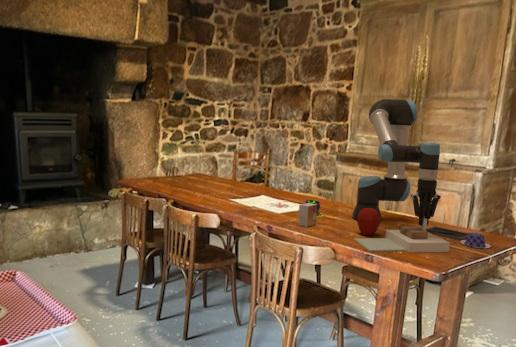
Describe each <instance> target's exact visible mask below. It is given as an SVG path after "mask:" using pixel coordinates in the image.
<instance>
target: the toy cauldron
mask: <svg viewBox="0 0 516 347" xmlns="http://www.w3.org/2000/svg"><path fill="white" fill-rule="evenodd" d="M315 197H316V196H315ZM316 198H317V199H318V200H317V199H312V198H311V199H307V197H305V199H307V200H303V201H302V203H303V204H306V203H312V204H317V215H316V219H319V217H321V218H323V217H322V215H321V214H320V213H321V212H320V209H321V205H322V204H323V202H322V201H319V200H320V199H321V198H319V197H316ZM319 212H320V213H319ZM319 215H320V216H319Z"/></svg>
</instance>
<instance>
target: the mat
mask: <svg viewBox="0 0 516 347" xmlns="http://www.w3.org/2000/svg"><path fill="white" fill-rule="evenodd" d="M353 241H354V242H356V243H358V244H359V245H360V246H362V247H363V248H364V249H365V250H367V251H368V252H407V251H406V249H404V248H403V247H401V246H400V245H398V244H396V243H395V242H393V241H391V240H390V239H388V238H386V237H385V238H384V237H383V238H382V237H381V238H379V237H378V238H377V237H376V238H373V237H372V238H370V237H367V238H366V237H365V238H354V239H353Z"/></svg>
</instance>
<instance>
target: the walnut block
mask: <svg viewBox="0 0 516 347" xmlns="http://www.w3.org/2000/svg"><path fill="white" fill-rule="evenodd" d="M399 227H400V229H399V230H400V233H401V234H403V235H405V236H407V237H409V238H411V239H428V232H426V231H424V230H422V229H420V227H417V225H416V226H415V225H404V226H403V225H401V226H399Z"/></svg>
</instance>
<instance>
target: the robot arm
mask: <svg viewBox="0 0 516 347" xmlns="http://www.w3.org/2000/svg"><path fill="white" fill-rule="evenodd" d="M368 118H369V122H370V123H371V124H372V125H373V128H374V131H375V133H376V136H377V139H378V142H379V147H378V149H377V155H378V156H377V157H378V159H379V161H380V162H387V163H388V164H387V172H386V173H385V174H384V175H383V178H382V177H381V176H379V175H376V176H375V175H368V176H362V177H359V179H358V181H357V192H356V205H355V207H354V209H353V212H352V216H351V217H352V219H353V220H355V221H358V214H359V212H360V211H361V210H362V209H364V208H369V206H370V208H373V209H375V210H376V211H377V212H378V214H379V217H380V222H382V221H381V220H382V215H381V210H380V206H379V204H380V202H396V203H397V202H405V201H406V200H407V199H408V197H409V196H410V198H411V199H412V204H413V210H414V216H416V217H418V223H417V224H418V226H419V228H420V229H422V230H424V231H426V229H427V226H429V219H431V218H433V217H434V215H435V212H436V209H437V206H438V203H439V201H440V200H441V198H442V196H441V195H439V194H438V193H437V190H436V189H437V185H438V181H437V179H438V174H439V172H438V171H439V163H440V154H441V145H440V143H437V142H422V143H421V145H408V139H409V138H408V137H409V130H410V128H412V127H413V124H414V123H415V122H417V118H418V108H417V105H416V103H415V102H414V100H410V99H393V98H392V99H388V98H385V99H384V98H383V99H380V100H377V101H375V103H373V105H372V106H371V107H370V109H369V111H368ZM406 163H412V164H413V163H415V164H416V163H418V164H419V165H418V166H419V167H418V175H417V177H418V179H417V184H416V186H417V189H416V192H415V193H414V194H411V195H410V193H411V182H410V180H408V177H407V176H406V174H405V169H406Z"/></svg>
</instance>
